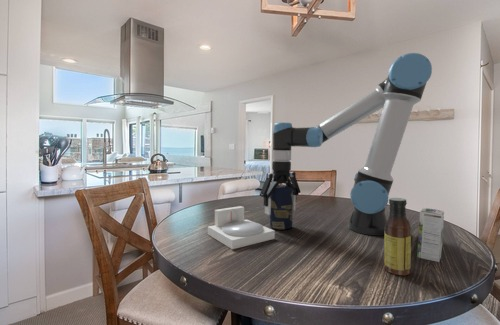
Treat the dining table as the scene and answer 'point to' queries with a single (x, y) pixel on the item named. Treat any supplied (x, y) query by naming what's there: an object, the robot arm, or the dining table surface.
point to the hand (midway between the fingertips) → (280, 212)
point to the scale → (237, 229)
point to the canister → (281, 207)
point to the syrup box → (430, 234)
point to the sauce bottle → (397, 239)
